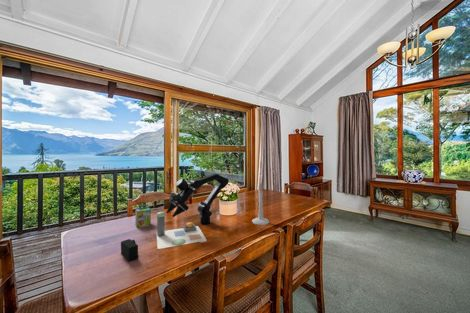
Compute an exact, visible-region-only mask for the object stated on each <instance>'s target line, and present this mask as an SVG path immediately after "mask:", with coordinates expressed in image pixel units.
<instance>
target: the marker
mask: <svg viewBox="0 0 470 313" xmlns="http://www.w3.org/2000/svg"><path fill="white" fill-rule="evenodd" d="M165 214H166V212H165V211H159V212H156V237H157V236H159V237H161V236H164V235H165V231H166V230H165V229H166V228H165V227H166V226H165V225H166V224H165V223H166V221H165V220H166V218H165V217H166V215H165Z"/></svg>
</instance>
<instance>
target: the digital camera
mask: <svg viewBox="0 0 470 313" xmlns="http://www.w3.org/2000/svg"><path fill="white" fill-rule="evenodd" d="M120 254H121V256H123V259H125V260H126V261H127V262H128V263H130V262H133V261H136V260H139V245H138V244H137V243H136V240H135V239H130V238H129V239H126V240H122V241H120Z"/></svg>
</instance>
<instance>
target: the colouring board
mask: <svg viewBox="0 0 470 313" xmlns="http://www.w3.org/2000/svg"><path fill="white" fill-rule="evenodd" d="M195 227H196V231H190V232H185V231H184V229H183V227H182V228H175V229H168V230H165V235H164V236H161V237H159V236H157V235H156V243H157V244H156V246H157V250H160V249H166V248H171V247H178V246H182V245H187V244H194V243H198V242H199V243H204V242H207V238H206V236H205V235H204V233H203V232H202V230H201V228H200V227H199V226H198V225H195Z"/></svg>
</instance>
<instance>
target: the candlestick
mask: <svg viewBox="0 0 470 313" xmlns="http://www.w3.org/2000/svg"><path fill="white" fill-rule="evenodd" d="M263 193H264V191H263V182H259V191H258V194H259V199H258V215H257V216H258V217H255V218H253V219H252V220H251V223H252V222H253V223H252V224H254V225H256V224H257V226H267V225H269V224H270V221H269V219H268V218H264V208H263V206H264V205H263ZM268 223H269V224H268ZM266 224H267V225H266Z"/></svg>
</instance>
